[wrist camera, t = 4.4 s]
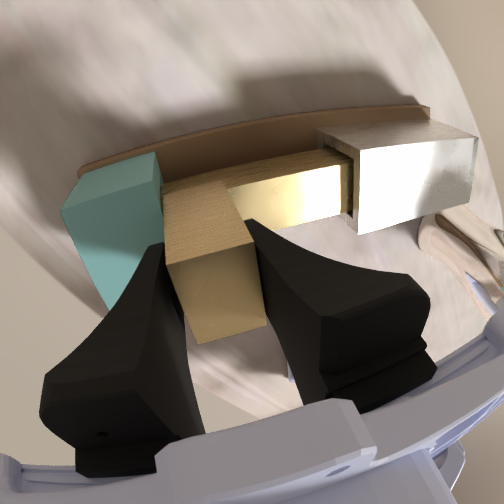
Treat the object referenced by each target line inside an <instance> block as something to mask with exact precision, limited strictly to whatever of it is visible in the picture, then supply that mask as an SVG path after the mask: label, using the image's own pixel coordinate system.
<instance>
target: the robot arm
mask: <svg viewBox="0 0 504 504" xmlns="http://www.w3.org/2000/svg"><path fill="white" fill-rule="evenodd" d="M243 221H244V223H245V225H246V227H247V229H248V231H249V233H250V235H251V237H252V239H253V240H254V244H255V251H256V257H257V263H258V270H259V276H260V282H261V289H262V295H263V301H264V308H265V313H266V315H267V317H268V319H269V321H270V323H271V324H272V326H273V328H274V330H275V332H276V334H277V337H278V339H279V341H280V344H281V346H282V349H283V351H284V354H285V356H286V359H287V369H288V379H289V381H290V382H295V383H296V385H297V388H298V391H299V394H300V396H301V399H302V402H303V405H304V406H302V407H299V408H296V409H293V410H290V411H287V412H284V413H281V414H278V415H275V416H271V417H268V418H265V419H261V420H258V421H255V422H251V423H248V424H244V425H240V426H236V427H232V428H228V429H225V430H220V431H216V432H212V433H207V434H206V433H205V429H204V426H203V423H202V419H201V415H200V412H199V408H198V404H197V400H196V396H195V392H194V388H193V383H192V379H191V374H190V370H189V365H188V358H187V349H186V337H185V324H184V311H183V308H182V306H181V303H180V300H179V298H178V295H177V293H176V290H175V288H174V285H173V282H172V280H171V277H170V274H169V272H168V269H167V266H166V256H165V243H164V242H161V243H157V244H153V245H150V246H148V247H147V249H146V251H145V253H144V255H143V257H142V259H141V260H140V262H139V264H138V266H137V268H136V270H135V272H134V274H133V275H132V277H131V279H130V281H129V283H128V284H127V286H126V287H125V289H124V291H123V292H122V294H121V296H120V297H119V299H118V300H117V302H116V303H115V305H114V306H113V307H112V309H111V310H110V311H109V313H108V314H107V315H106V316H105V318H104V319H103V320H102V321H101V322H100V324H99V325H98V326H97V327H96V328H95V329H94V330H93V332H92V333H91V334H90V335H89V336H88V337H87V338H86V339H85V340H84V341H83V342H82V343H81V344H80V345H79V346H78V347H77V348H76V349H75V350H74V351H73V352H72V353H71V354H69V355H68V356H67V357H66V358H65V359H64V360H62V361H61V362H60V363H59V364H58V365H56V366H55V367H54V368H53V369H51V370H50V371H49V372H48V373H46V374H45V377H44V383H43V389H42V395H41V402H40V409H39V416H40V419H41V420H42V422H43V424H44V425H45V426H46V427H47V428H48V429H49V430H50V431H51V432H53V433H54V434H55V435H57V436H58V437H59V438H61V439H62V440H64V441H65V442H66V443H68V444H69V445H71V446H72V447H74V448H75V466H49V465H48V466H46V465H28V464H20V462H18V461H17V460H16V459H14V458H12V457H10V456H8V455H5V454H2V453H0V504H457V502H456V500H455V498H454V497H453V495H452V493H451V490H452V487H453V486H454V484H455V482H456V480H457V478H458V476H459V474H460V472H461V470H462V468H463V465H464V463H465V457H464V454H465V450H464V448H463V446H462V444H461V442H460V441H459V438H461V437H462V436H463V435H465V434H466V433H467V432H469V431H470V430H471V429H472V428H474V427H475V426H476V425H477V424H478V423H480V422H481V421H482V420H483V419H485V418H486V417H487V416H488V415H489V414H490V413H492V412H493V411H494V410H495V409H496V408H497V407H498V406H499V405H501V404H502V403H503V402H504V307H503V308H502V309H500V310H499V311H497V312H496V313H495V314H494V315H492V317H491V318H490V319H489V320H488V322H487V323H486V325H485V327H484V330H483V333H481V334H480V335H478V336H477V337H475V338H474V339H473V340H471V341H469V342H468V343H466V344H465V345H463V346H462V347H460V348H459V349H457V350H455V351H454V352H452V353H451V354H449V355H447V356H446V357H444V358H442V359H441V360H439V361H437V362H436V363H434V362H433V360H432V359H431V358H430V356H429V355H428V354H427V352H426V351H425V349H426V347H427V344H426V342H425V341H424V339H423V338H422V337H421V334H422V332H423V329H424V326H425V324H426V321H427V318H428V315H429V311H430V306H431V304H430V298H429V296H428V295H427V293H426V292H425V291H424V290H423V289H422V288H421V287H420V286H419V285H418V283H417V282H416V281H415V280H414V279H413V278H412V277H411V276H409V275H408V274H402V273H393V272H384V271H377V270H371V269H366V268H361V267H357V266H352V265H348V264H345V263H342V262H338V261H335V260H332V259H329V258H326V257H323V256H321V255H318V254H315V253H313V252H310V251H308V250H306V249H304V248H302V247H300V246H298V245H296V244H294V243H292V242H290V241H288V240H286V239H284V238H283V237H281V236H279V235H278V234H276V233H274V232H273V231H271V230H270V229H268V228H267V227H265V226H264V225H262V224H261V223H259V222H257V221H256V220H254V219H253V218H251V219H247V220H243Z"/></svg>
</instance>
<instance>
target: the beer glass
mask: <svg viewBox="0 0 504 504" xmlns="http://www.w3.org/2000/svg"><path fill="white" fill-rule="evenodd" d="M418 245H419V247H420V249H421V250H422V251H423V252H424V253H425V254H427V255H428V256H430V257H432V258H434V259H435V260H437V261H439V262H440V263H442V264H443V265H444V266H445V267H447V268H448V269H449V270H450V271H451V272H452V273H453V274H454V276H455V277H456V278H457V280H458V281H459V282H460V284H461V285H462V287H463V288H464V289H465V291H466V292H467V294H468V295H469V297H470V298H471V300H472V301H473V303H474V304H475V306H476V308H477V309H478V310H479V312H480V313H481V315H482V316H483V317H484V319H485V320H486V322H488V320H489V319H490V318H491V317H492V315H494V314H495V313H496V312H497V311H499V310H500V309H502V308H503V307H504V231H503V230H501V229H498V228H496V227H494V226H493V225H491V224H489V223H487V222H485V221H484V220H482V219H481V218H479V217H478V216H477V215H475V214H474V213H473V212H472V211H471V210H470V209H469V208H468V207H467V206H466V205H465V204H462V205H458V206H455V207H452V208H448V209H445V210H442V211H438V212H435V213H431V214H428V215H425V216H424V217H423V219H422V221H421V223H420V226H419V230H418Z"/></svg>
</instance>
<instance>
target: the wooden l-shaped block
mask: <svg viewBox="0 0 504 504" xmlns="http://www.w3.org/2000/svg"><path fill="white" fill-rule="evenodd" d="M353 196H354V159H353V158H351V157H349V156H348V155H346V154H344V153H342V152H341V151H339V150H337V149H335V148H333V147H330V148H324V149H318V150H312V151H306V152H301V153H295V154H290V155H285V156H280V157H274V158H270V159H265V160H260V161H255V162H250V163H246V164H241V165H237V166H232V167H228V168H224V169H219V170H215V171H211V172H207V173H203V174H199V175H195V176H191V177H187V178H183V179H180V180H176V181H172V182H169V183H165V184H161V185H160V204H161V207H162V210H163V213H164V237H165V256H166V266H167V269H168V272H169V274H170V277H171V280H172V282H173V285H174V288H175V290H176V293H177V295H178V298H179V300H180V303H181V306H182V308H183V311H184V313H185V315H186V318H187V320H188V323H189V325H190V328H191V330H192V332H193V335H194V337H195V340H196V342H197V344H202V343H206V342H209V341H213V340H217V339H221V338H224V337H228V336H231V335H235V334H239V333H242V332H246V331H249V330H252V329H256V328H259V327H263V326H266V325H267V320H266V314H265V308H264V301H263V295H262V289H261V282H260V276H259V270H258V263H257V257H256V251H255V244H254V240H253V239H252V237H251V235H250V233H249V231H248V229H247V227H246V225H245V223H244V221H243V220H247V219H251V218H253V219H254V220H256V221H257V222H259V223H261V224H262V225H264V226H265V227H267V228H268V229H270V230H271V231H274V230H278V229H281V228H285V227H289V226H293V225H297V224H301V223H305V222H309V221H313V220H317V219H321V218H324V217H328V216H332V215H336V214H340V213H344V212H348V211H352V210H353Z"/></svg>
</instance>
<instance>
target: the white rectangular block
mask: <svg viewBox="0 0 504 504" xmlns="http://www.w3.org/2000/svg"><path fill="white" fill-rule="evenodd" d="M316 131H317V146H318V149H324V148H330V147H333V148H335V149H337V150H339V151H341V152H342V153H344V154H346V155H348V156H349V157H351V158H353V159H354V196H353V210H352V211H348V212H344V213H340V214H337V215H338V216H339V217H341V218H342V219H343V220H344V221H345V222H346V223H347V224H348V225H349V226H350V227H351V228H352V229H353V230H354V231H355V232H356V233H357V234H358V235H359V234H363V233H366V232H370V231H373V230H377V229H380V228H383V227H387V226H390V225H394V224H397V223H401V222H404V221H408V220H411V219H414V218H418V217H421V216H425V215H428V214H431V213H435V212H438V211H442V210H445V209H448V208H452V207H455V206H458V205H462V204H465V203H468V202H469V199H470V194H471V188H472V183H473V176H474V170H475V163H476V156H477V147H478V137H476V136H473V135H471V134H469V133H466V132H464V131H462V130H459V129H457V128H454V127H452V126H449V125H446V124H444V123H441V122H438V121H436V120H433V119H430V118H429V119H407V120H392V121H379V122H368V123H358V124H349V125H340V126H332V127H325V128H317V129H316Z"/></svg>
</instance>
